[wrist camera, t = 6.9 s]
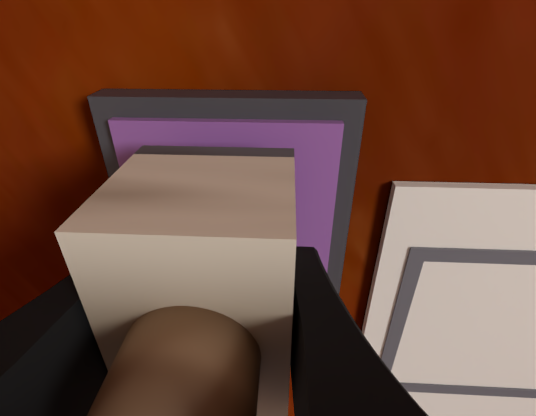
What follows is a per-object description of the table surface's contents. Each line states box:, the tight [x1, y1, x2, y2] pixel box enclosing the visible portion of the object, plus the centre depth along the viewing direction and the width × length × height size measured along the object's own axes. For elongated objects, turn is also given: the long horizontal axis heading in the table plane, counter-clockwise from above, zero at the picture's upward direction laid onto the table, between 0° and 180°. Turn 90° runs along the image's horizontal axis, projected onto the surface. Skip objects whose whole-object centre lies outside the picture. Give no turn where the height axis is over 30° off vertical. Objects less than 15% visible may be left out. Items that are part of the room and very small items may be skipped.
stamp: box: [54, 145, 297, 416], centre depth 8 cm, size 6×4×6 cm, turn 0°
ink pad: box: [87, 89, 367, 295], centre depth 12 cm, size 8×8×1 cm
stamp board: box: [362, 181, 536, 416], centre depth 15 cm, size 14×11×1 cm
